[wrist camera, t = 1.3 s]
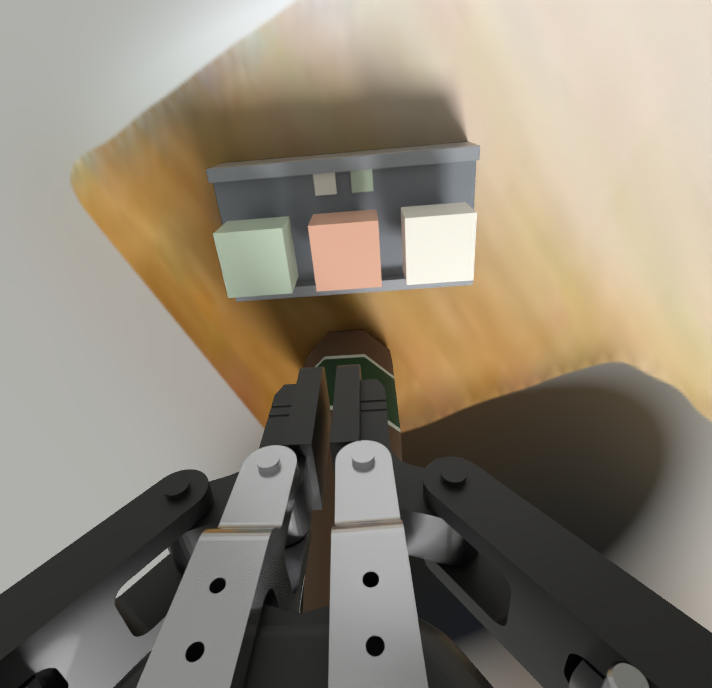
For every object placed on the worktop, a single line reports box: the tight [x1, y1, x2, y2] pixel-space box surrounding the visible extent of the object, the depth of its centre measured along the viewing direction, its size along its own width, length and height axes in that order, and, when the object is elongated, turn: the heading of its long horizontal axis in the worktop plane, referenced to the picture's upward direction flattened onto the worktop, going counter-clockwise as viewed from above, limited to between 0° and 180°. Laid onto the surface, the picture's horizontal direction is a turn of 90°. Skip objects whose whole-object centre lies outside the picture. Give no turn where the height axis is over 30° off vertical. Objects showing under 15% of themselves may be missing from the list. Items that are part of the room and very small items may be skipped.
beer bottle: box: [303, 330, 402, 613], centre depth 27 cm, size 8×8×24 cm
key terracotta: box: [308, 209, 382, 292], centre depth 27 cm, size 4×4×3 cm
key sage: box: [213, 216, 298, 298], centre depth 27 cm, size 4×4×3 cm
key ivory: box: [401, 202, 477, 285], centre depth 27 cm, size 4×4×3 cm
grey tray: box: [206, 142, 480, 302], centre depth 30 cm, size 17×9×5 cm, turn 95°
